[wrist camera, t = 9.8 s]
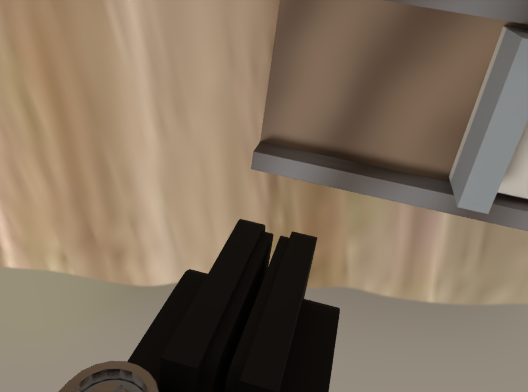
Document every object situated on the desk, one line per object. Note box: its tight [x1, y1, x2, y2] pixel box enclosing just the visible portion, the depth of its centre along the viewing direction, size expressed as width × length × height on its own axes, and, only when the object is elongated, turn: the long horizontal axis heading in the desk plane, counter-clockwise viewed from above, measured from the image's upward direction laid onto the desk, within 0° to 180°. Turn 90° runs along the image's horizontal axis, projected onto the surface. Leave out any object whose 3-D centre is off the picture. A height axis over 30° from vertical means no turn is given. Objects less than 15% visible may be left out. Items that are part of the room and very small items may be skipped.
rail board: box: [251, 0, 528, 231], centre depth 26 cm, size 28×12×3 cm, turn 82°
